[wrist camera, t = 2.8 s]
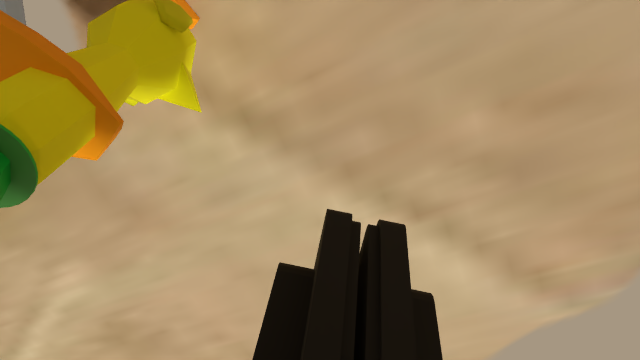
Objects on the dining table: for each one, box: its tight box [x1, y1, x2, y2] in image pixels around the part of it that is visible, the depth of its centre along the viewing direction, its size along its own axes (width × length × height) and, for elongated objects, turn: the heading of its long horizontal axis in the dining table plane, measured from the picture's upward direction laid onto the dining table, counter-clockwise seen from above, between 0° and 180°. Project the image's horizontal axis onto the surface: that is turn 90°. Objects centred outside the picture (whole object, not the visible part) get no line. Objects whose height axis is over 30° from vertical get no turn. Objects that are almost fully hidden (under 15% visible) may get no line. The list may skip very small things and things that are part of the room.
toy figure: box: [0, 0, 202, 208], centre depth 13 cm, size 7×4×12 cm, turn 50°
